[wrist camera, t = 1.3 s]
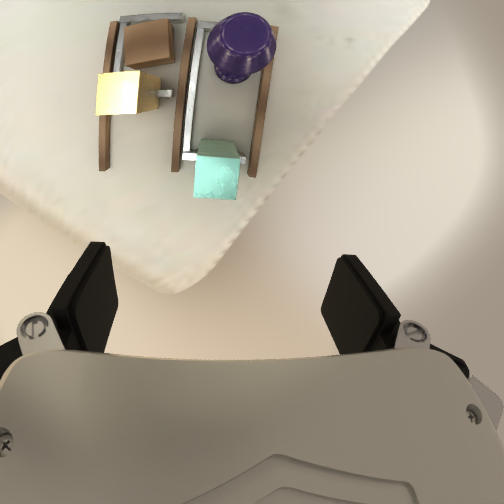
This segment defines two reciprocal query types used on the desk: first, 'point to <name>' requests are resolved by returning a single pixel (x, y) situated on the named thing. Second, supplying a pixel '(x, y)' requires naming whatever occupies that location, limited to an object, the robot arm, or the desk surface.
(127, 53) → the walnut cube
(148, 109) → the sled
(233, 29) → the toy lamp
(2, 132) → the desk surface
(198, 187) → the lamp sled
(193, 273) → the desk surface
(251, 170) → the lane rails
